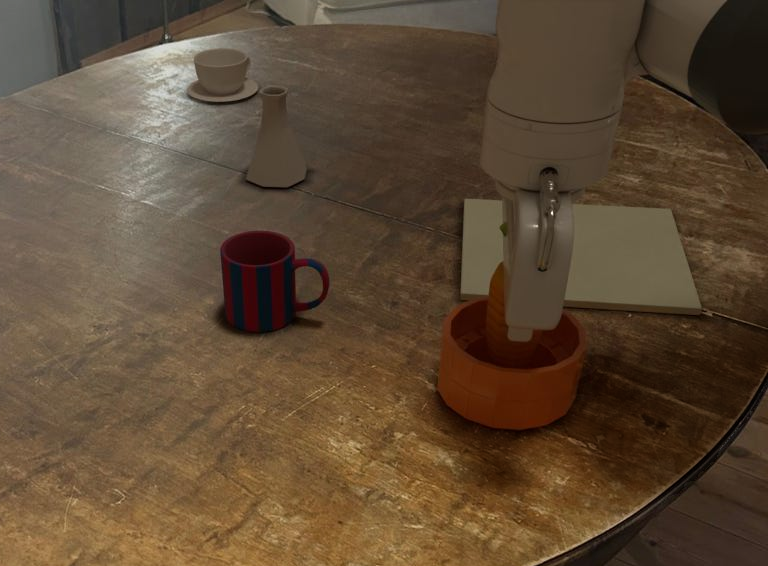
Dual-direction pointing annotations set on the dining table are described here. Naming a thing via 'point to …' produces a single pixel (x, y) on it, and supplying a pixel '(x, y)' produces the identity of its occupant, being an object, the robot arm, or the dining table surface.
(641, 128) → the dining table surface
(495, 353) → the carrot
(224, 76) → the teacup
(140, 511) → the dining table surface
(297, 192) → the dining table surface
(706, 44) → the robot arm
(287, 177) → the flask
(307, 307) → the cup
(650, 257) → the mat
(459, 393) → the bowl
